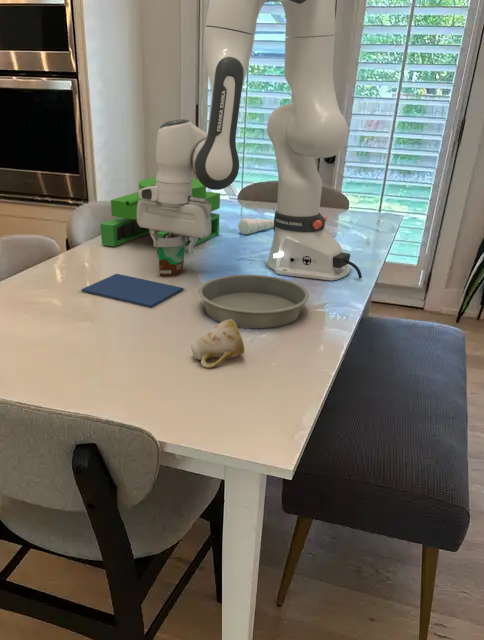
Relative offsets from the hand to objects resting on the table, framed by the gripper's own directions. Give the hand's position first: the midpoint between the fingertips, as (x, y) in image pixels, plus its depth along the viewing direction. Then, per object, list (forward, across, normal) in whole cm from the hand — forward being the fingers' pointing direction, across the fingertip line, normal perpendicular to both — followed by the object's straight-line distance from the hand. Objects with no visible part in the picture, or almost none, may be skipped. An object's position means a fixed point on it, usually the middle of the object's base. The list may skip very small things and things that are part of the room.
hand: (173, 250), depth 155 cm
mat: (+6, +1, +17) cm, 18 cm away
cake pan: (+6, -29, +14) cm, 33 cm away
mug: (+6, -34, +40) cm, 53 cm away
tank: (+6, +19, -22) cm, 30 cm away
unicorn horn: (+5, -2, -55) cm, 55 cm away
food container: (+6, 0, -1) cm, 6 cm away
